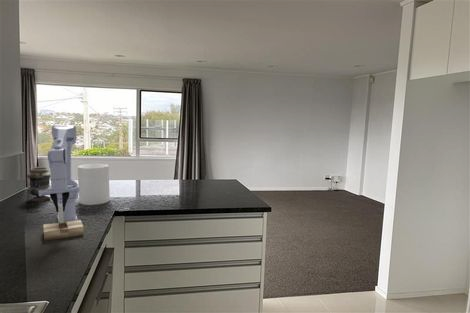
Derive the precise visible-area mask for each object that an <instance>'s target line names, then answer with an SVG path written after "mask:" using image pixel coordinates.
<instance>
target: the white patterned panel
mask: <svg viewBox="0 0 470 313" xmlns="http://www.w3.org/2000/svg"><path fill="white" fill-rule="evenodd" d="M123 208H124V209H128V210H129V209H130V207H123ZM117 211H118V212H124V211H125V210H123V209H120V210H118V209H117Z"/></svg>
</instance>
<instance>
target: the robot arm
mask: <svg viewBox="0 0 470 313" xmlns="http://www.w3.org/2000/svg"><path fill="white" fill-rule="evenodd" d="M77 131H78V130H77V126H76V125H75V124H53V125H52V126H51V137H52V139H53V141H52V145H51V147H50V149H49V150H48V152H47V160H48V167H49V168H48V169H50V170H49V171H50V174H51V177H50V186H51V189H47V190H40V191H39V196H44V195H45V196H49V197H50V198H51V199H50V200H51V201H52V203H53V205H54V207H55V211H56V213H58V203H62V205H63V221H64V222H66V221H73V220H79V219H78V217H77V216H78V215H77V213H76V211H77V209H76V200H77V199H79V187H78V181H75V180H74V179H72V148H73V147H72V146H73V145H75V144H76V143H77V138H78V137H77V134H78V132H77ZM56 218H57V223H59V220H58V215H57V216H56Z"/></svg>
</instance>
